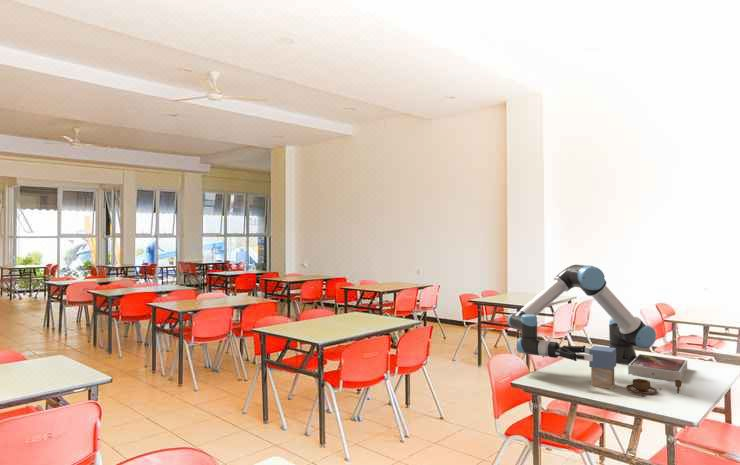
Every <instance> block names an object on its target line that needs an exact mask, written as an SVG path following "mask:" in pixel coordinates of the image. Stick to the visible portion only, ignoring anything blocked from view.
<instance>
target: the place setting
mask: <svg viewBox="0 0 740 465" xmlns="http://www.w3.org/2000/svg"><path fill="white" fill-rule="evenodd" d="M674 384H675V385H674V386H675V387H676V388H677V389H676V393H677V394H678V395H679V394H680V395H681V393H680V392H681V391H680V388H681V387H682V384H683V383H682V380H681V381H680V380H675V381H674ZM625 387H626V390H627V391H628V392H629V393H631V394H632V395H634V396H638V397H643V398H644V397H646V396H653V395H656V394H657V393H658V389H657V388H656V387H653V386H651V381H650V380H647V379H643V378H633V379H632V383H631V384H627V385H626V386H625ZM662 389H663V388H662V387H661V388H659V390H662ZM649 390H650V391H649ZM648 391H649V392H648Z"/></svg>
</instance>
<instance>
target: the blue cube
mask: <svg viewBox="0 0 740 465" xmlns="http://www.w3.org/2000/svg"><path fill="white" fill-rule="evenodd" d="M589 348H590V349H589V355H593V361H588V362H589V365H588V366H589V368H591V367H593V368H600V369H607V370H613V368H614V369H615V367H616V366H617V363H616V348H611V347H608V346H601V345H593V346H591V347H589Z"/></svg>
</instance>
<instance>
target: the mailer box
mask: <svg viewBox="0 0 740 465" xmlns="http://www.w3.org/2000/svg"><path fill="white" fill-rule="evenodd" d="M590 369H591V370H590V372H591V375H590V376H591V386H593V387H598V388H605V389H610V390H611V389H612V388H613V386H614V385H615V367H614V368H613V370H607V369H600V368H593V367H590Z"/></svg>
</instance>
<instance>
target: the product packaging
mask: <svg viewBox="0 0 740 465" xmlns="http://www.w3.org/2000/svg"><path fill="white" fill-rule="evenodd" d="M636 356H637V357H636V358H635V359H634V360H633V361H632V362H631V363H630V364H628V366H627V369H628V370H627V371H628V372H627V373H628V374H627V375H630V374H632V375H631V376H636V375H637V376H638V377H642V378H643V377H645V378H651V379H659V380H664V381H671V382H675V380H680V381H682V379H683V377H684V375H685V374H686V372H687V370H688V360H687V359H681V358H674V357H664V356H658V355H657V356H656V355H648V354H642V353H641V354H638V355H636Z"/></svg>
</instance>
